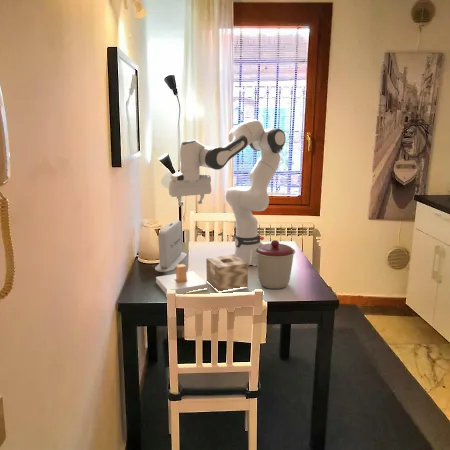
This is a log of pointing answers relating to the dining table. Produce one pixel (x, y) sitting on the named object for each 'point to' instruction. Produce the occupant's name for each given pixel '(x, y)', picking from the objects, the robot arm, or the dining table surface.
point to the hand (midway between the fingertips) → (190, 204)
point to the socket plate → (170, 283)
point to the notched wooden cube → (227, 272)
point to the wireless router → (170, 247)
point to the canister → (274, 264)
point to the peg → (181, 273)
